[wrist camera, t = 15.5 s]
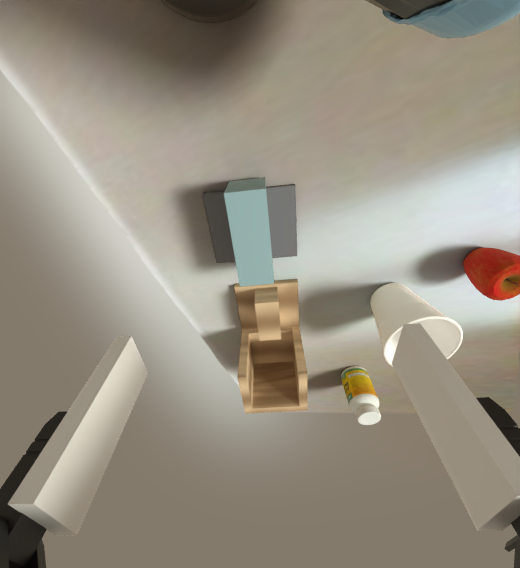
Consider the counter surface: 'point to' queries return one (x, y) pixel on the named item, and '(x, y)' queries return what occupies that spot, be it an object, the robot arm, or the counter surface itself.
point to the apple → (494, 272)
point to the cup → (411, 320)
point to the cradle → (271, 348)
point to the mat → (280, 222)
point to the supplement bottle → (361, 395)
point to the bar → (250, 230)
